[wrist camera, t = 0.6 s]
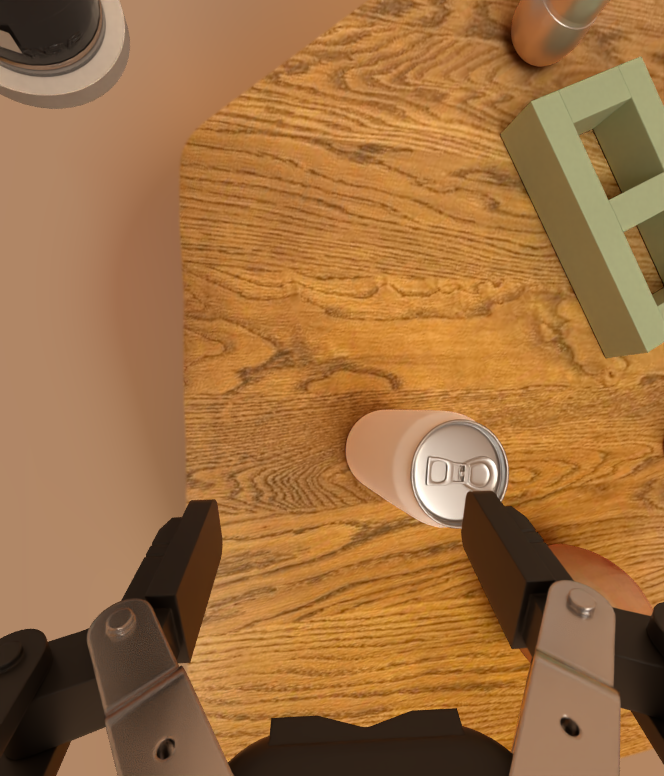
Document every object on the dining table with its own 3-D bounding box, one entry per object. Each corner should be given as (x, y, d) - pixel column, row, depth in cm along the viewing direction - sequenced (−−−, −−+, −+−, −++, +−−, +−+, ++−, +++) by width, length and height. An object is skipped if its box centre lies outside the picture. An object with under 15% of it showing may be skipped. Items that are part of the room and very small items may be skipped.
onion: (484, 523, 34) (582, 571, 24) (581, 534, 36) (707, 582, 26) (470, 640, 33) (565, 739, 23) (569, 645, 35) (696, 737, 25)
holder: (605, 358, 37) (647, 352, 33) (499, 134, 36) (530, 101, 32) (696, 301, 40) (745, 289, 36) (601, 91, 38) (641, 55, 35)
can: (415, 491, 32) (512, 539, 21) (340, 486, 31) (397, 535, 19) (422, 413, 33) (520, 417, 21) (348, 405, 31) (408, 404, 20)
